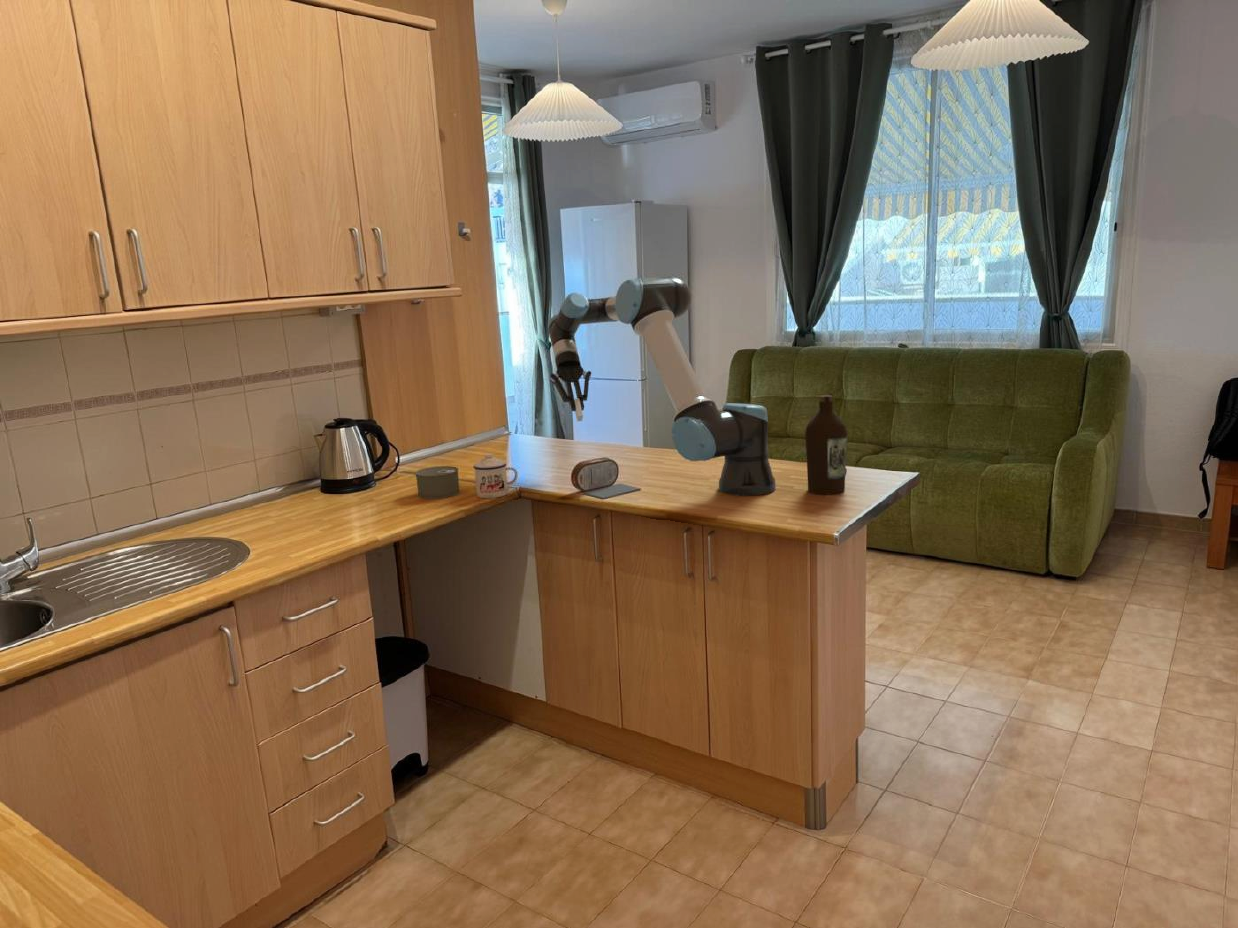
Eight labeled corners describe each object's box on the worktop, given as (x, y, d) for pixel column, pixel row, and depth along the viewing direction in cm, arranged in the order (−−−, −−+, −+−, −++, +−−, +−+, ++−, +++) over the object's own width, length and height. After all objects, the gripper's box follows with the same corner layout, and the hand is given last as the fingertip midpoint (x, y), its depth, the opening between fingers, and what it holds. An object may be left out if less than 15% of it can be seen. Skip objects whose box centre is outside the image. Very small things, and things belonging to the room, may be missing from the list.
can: (431, 488, 256) (428, 465, 254) (467, 489, 252) (465, 466, 251) (409, 499, 245) (407, 475, 243) (447, 500, 241) (445, 476, 240)
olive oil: (797, 490, 230) (796, 396, 225) (825, 483, 236) (825, 391, 230) (827, 497, 222) (826, 400, 216) (855, 490, 227) (856, 395, 222)
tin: (614, 483, 250) (613, 454, 248) (621, 484, 247) (619, 455, 246) (571, 492, 241) (569, 463, 239) (577, 494, 239) (575, 464, 237)
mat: (640, 489, 240) (640, 488, 240) (603, 499, 232) (603, 497, 232) (620, 484, 247) (620, 483, 247) (583, 493, 239) (583, 492, 239)
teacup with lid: (477, 500, 239) (473, 458, 236) (474, 492, 247) (471, 452, 245) (521, 495, 241) (517, 454, 239) (517, 488, 250) (513, 448, 247)
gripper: (586, 363, 276) (600, 423, 264) (545, 367, 273) (557, 427, 261) (588, 348, 270) (602, 409, 257) (546, 351, 267) (559, 412, 255)
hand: (580, 418), depth 259 cm, fingers closed
